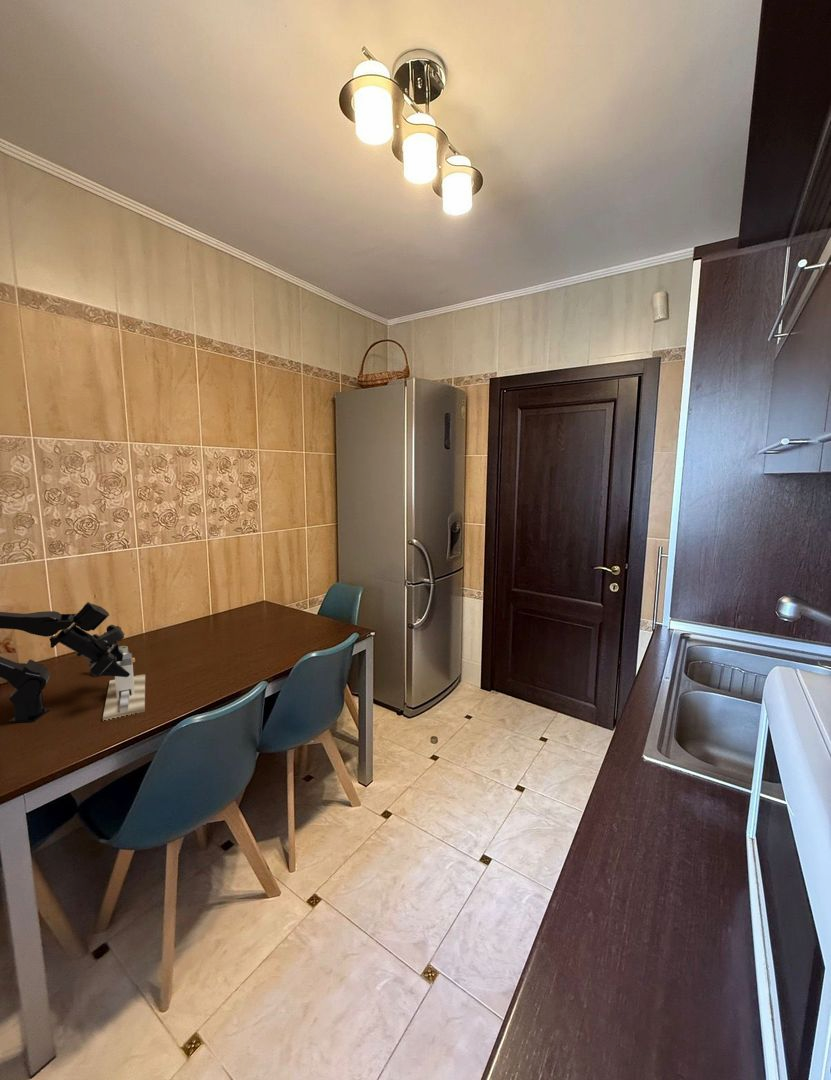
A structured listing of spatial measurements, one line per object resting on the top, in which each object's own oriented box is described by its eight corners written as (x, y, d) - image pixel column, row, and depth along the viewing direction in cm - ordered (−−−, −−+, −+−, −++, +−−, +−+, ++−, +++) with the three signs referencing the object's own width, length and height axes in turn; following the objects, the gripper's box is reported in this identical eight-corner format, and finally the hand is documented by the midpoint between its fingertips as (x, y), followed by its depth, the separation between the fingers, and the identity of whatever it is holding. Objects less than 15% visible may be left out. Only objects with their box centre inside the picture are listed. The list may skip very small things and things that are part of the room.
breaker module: (137, 694, 137) (134, 657, 135) (116, 698, 134) (113, 661, 132) (137, 688, 140) (134, 652, 139) (117, 692, 138) (114, 656, 136)
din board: (144, 711, 129) (144, 702, 128) (103, 721, 124) (102, 711, 123) (145, 676, 151) (144, 668, 150) (110, 683, 146) (109, 675, 145)
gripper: (101, 630, 124) (149, 659, 131) (106, 612, 139) (149, 639, 147) (68, 662, 121) (119, 690, 128) (77, 640, 136) (123, 666, 144)
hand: (129, 669), depth 137 cm, fingers open, 9 cm apart
